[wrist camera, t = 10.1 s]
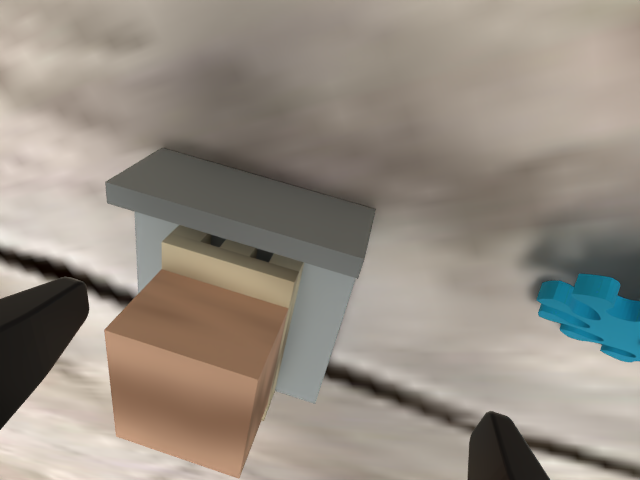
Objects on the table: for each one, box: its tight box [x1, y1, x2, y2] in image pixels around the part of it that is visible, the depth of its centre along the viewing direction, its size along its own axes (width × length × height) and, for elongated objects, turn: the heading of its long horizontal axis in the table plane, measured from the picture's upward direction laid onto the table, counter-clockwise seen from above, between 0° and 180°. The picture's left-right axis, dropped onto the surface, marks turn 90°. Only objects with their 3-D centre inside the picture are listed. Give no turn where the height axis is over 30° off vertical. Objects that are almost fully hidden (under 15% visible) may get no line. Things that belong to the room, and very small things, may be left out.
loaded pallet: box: [104, 225, 304, 478], centre depth 20 cm, size 10×6×6 cm, turn 168°
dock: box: [105, 148, 376, 404], centre depth 22 cm, size 12×11×4 cm
